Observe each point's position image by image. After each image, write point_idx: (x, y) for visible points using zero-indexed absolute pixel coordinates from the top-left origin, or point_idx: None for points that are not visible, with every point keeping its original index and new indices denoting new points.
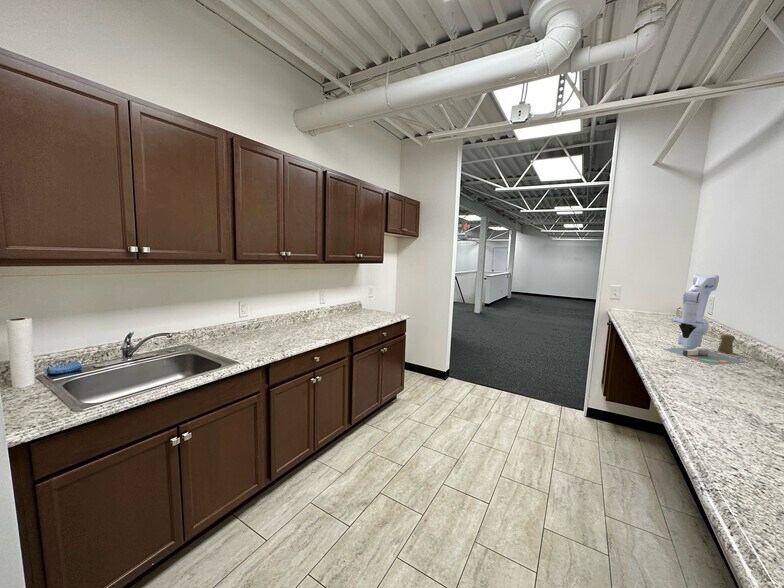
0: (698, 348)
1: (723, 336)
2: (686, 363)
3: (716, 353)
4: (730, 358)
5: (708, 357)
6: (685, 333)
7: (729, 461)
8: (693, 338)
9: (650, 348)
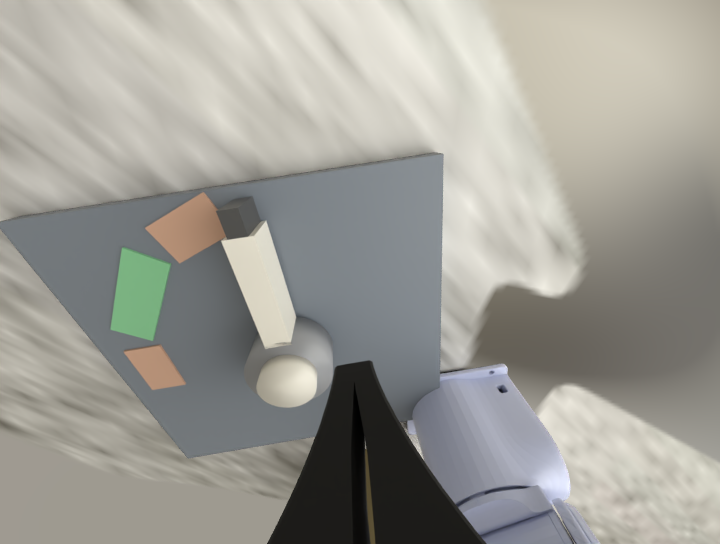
0: (279, 364)
1: None
2: (36, 45)
3: None
4: (242, 434)
5: (234, 347)
6: (331, 431)
7: None
8: (453, 465)
9: (516, 104)
